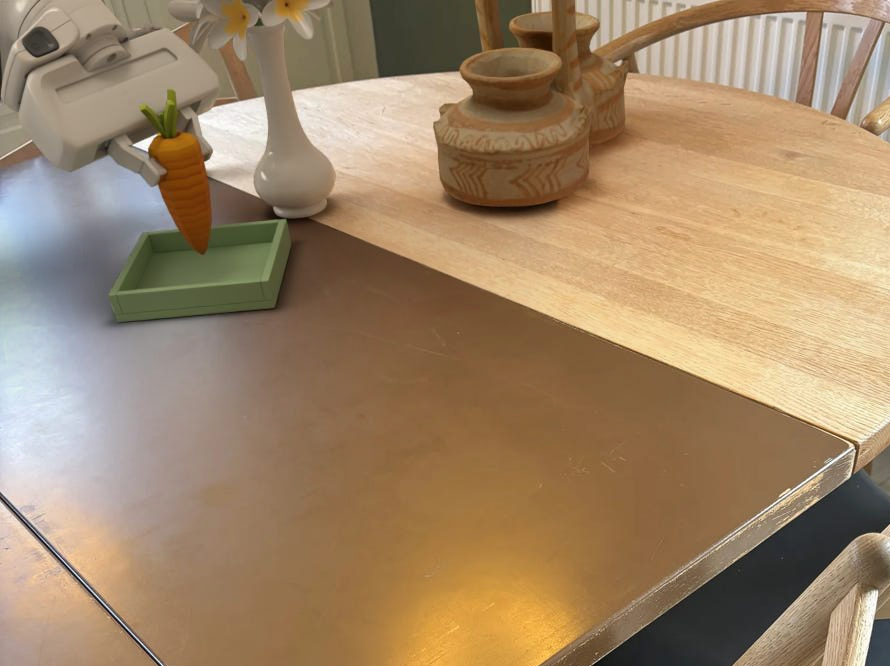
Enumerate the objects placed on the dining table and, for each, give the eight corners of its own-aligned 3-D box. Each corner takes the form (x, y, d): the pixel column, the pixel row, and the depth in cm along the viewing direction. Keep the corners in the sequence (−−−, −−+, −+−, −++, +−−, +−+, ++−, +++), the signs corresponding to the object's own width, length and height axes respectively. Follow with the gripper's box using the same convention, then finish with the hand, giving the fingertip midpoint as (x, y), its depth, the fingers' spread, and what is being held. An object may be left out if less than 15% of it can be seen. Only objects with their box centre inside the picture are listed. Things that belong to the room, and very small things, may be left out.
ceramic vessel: (580, 220, 108) (576, -59, 91) (419, 214, 113) (387, -51, 96) (641, 118, 132) (647, -121, 114) (505, 116, 137) (491, -112, 119)
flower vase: (253, 186, 125) (197, -57, 108) (389, 193, 119) (353, -62, 102) (196, 227, 116) (127, -30, 99) (340, 237, 110) (292, -34, 93)
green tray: (117, 322, 99) (107, 295, 97) (150, 257, 111) (142, 232, 109) (274, 308, 99) (268, 280, 97) (291, 244, 110) (286, 218, 108)
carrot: (183, 268, 101) (136, 105, 90) (174, 251, 104) (127, 91, 94) (232, 256, 102) (191, 93, 92) (221, 240, 105) (180, 81, 95)
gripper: (150, 43, 103) (244, 155, 106) (-15, 104, 91) (96, 228, 94) (168, -6, 98) (267, 112, 101) (-3, 52, 86) (113, 185, 89)
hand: (183, 169), depth 97 cm, fingers closed on carrot, 5 cm apart
